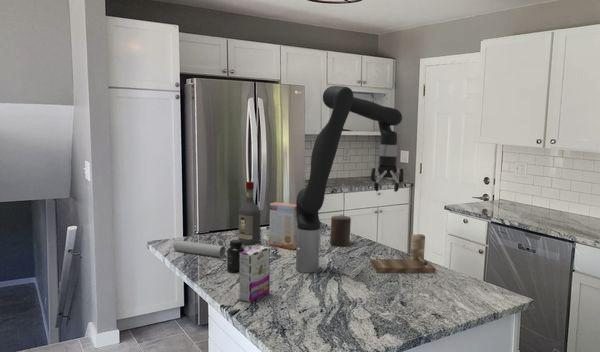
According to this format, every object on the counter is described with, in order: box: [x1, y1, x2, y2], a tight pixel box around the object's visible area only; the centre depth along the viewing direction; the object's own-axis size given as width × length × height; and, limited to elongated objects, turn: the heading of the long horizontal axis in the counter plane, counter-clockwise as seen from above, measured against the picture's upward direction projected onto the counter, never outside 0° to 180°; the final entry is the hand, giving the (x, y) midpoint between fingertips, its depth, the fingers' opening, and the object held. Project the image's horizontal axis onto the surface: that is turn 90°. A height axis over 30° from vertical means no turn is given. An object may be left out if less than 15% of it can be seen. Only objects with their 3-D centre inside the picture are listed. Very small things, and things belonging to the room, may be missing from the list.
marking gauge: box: [410, 233, 428, 265], centre depth 197 cm, size 5×13×12 cm, turn 4°
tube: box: [173, 240, 226, 259], centre depth 207 cm, size 5×5×25 cm
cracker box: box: [268, 201, 297, 251], centre depth 222 cm, size 14×6×21 cm, turn 58°
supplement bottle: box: [226, 239, 246, 274], centre depth 185 cm, size 7×7×12 cm
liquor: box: [238, 181, 261, 246], centre depth 227 cm, size 9×9×30 cm
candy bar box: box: [239, 245, 271, 303], centre depth 158 cm, size 11×5×16 cm, turn 148°
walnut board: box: [370, 258, 436, 274], centre depth 194 cm, size 24×12×2 cm, turn 94°
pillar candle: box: [329, 215, 352, 248], centre depth 229 cm, size 10×10×15 cm
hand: (386, 191), depth 206 cm, fingers open, 8 cm apart
